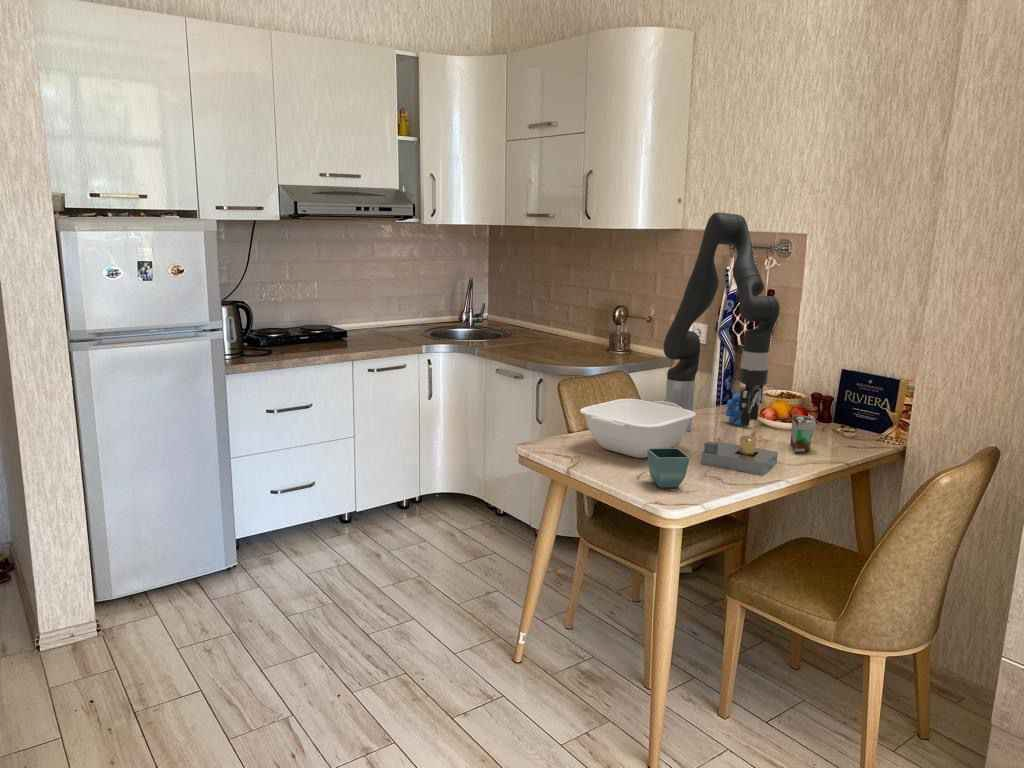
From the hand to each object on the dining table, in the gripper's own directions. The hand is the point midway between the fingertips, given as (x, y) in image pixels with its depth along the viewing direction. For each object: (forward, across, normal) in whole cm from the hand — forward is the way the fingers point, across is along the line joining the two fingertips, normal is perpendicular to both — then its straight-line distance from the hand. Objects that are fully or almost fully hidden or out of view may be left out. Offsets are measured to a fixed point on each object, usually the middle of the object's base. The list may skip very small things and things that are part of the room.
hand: (749, 422), depth 223 cm
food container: (+13, -26, +10) cm, 31 cm away
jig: (+13, 0, -2) cm, 13 cm away
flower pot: (+13, +31, -12) cm, 36 cm away
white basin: (+13, +6, -32) cm, 35 cm away
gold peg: (+13, 0, 0) cm, 13 cm away
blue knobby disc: (+13, -44, -15) cm, 48 cm away
